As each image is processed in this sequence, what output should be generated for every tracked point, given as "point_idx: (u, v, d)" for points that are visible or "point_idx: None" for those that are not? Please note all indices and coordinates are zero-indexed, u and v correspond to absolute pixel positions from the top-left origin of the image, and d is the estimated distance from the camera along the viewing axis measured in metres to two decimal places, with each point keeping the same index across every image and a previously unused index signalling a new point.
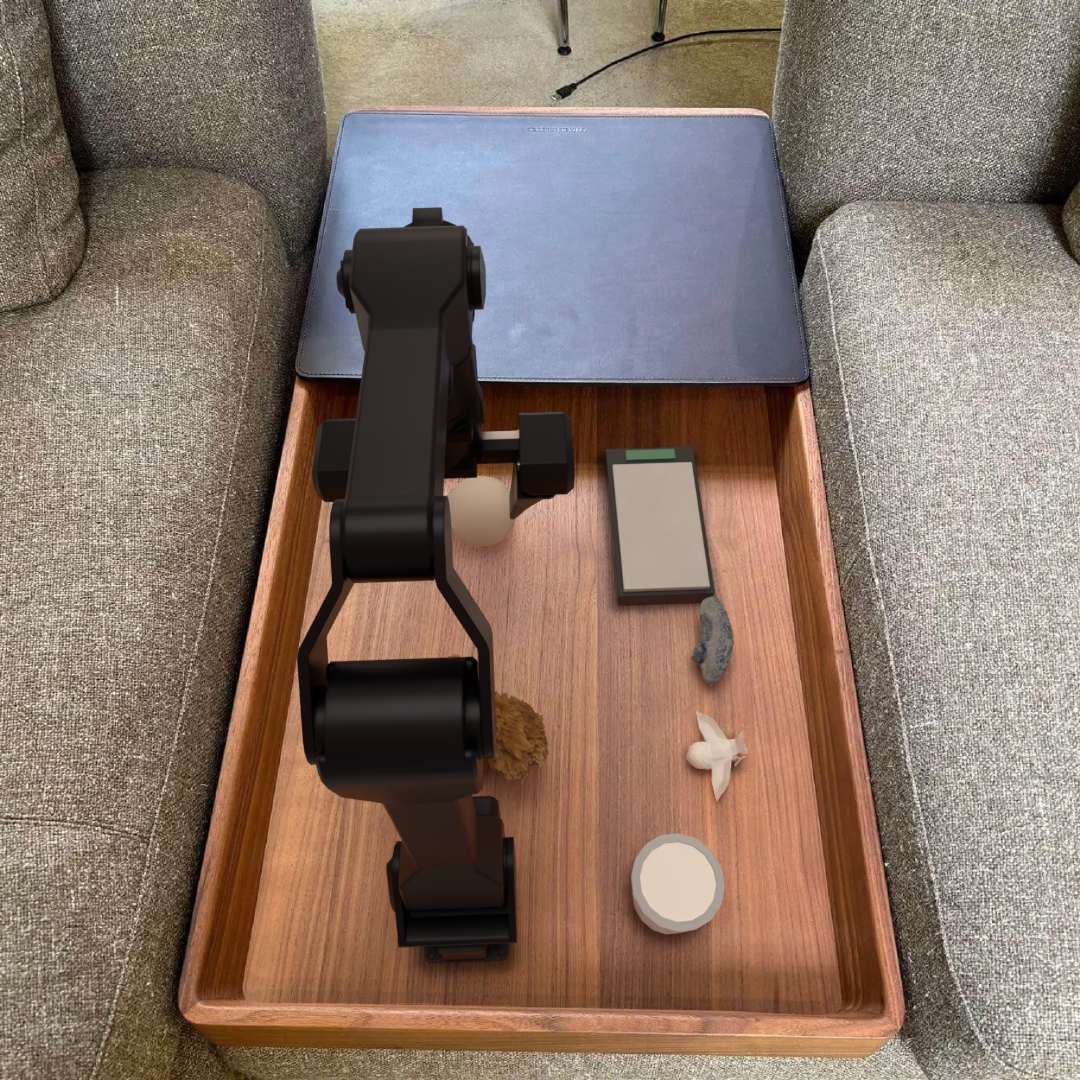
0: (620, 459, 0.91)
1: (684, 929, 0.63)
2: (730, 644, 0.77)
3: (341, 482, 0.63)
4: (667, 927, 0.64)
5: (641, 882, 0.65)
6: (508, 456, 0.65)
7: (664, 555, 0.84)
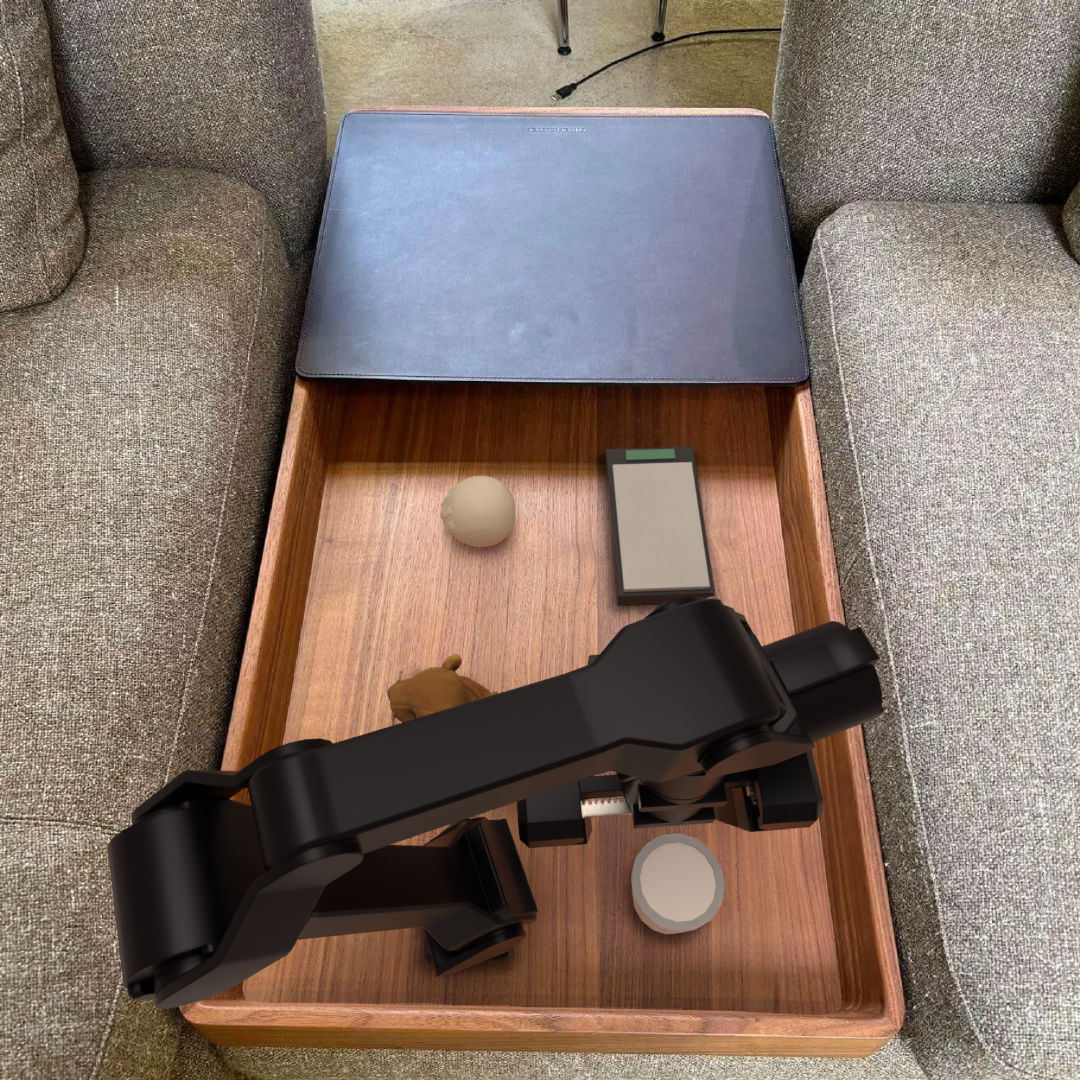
0: (620, 459, 0.91)
1: (684, 929, 0.63)
2: None
3: (554, 834, 0.53)
4: (667, 927, 0.64)
5: (641, 882, 0.65)
6: (740, 785, 0.55)
7: (664, 555, 0.84)
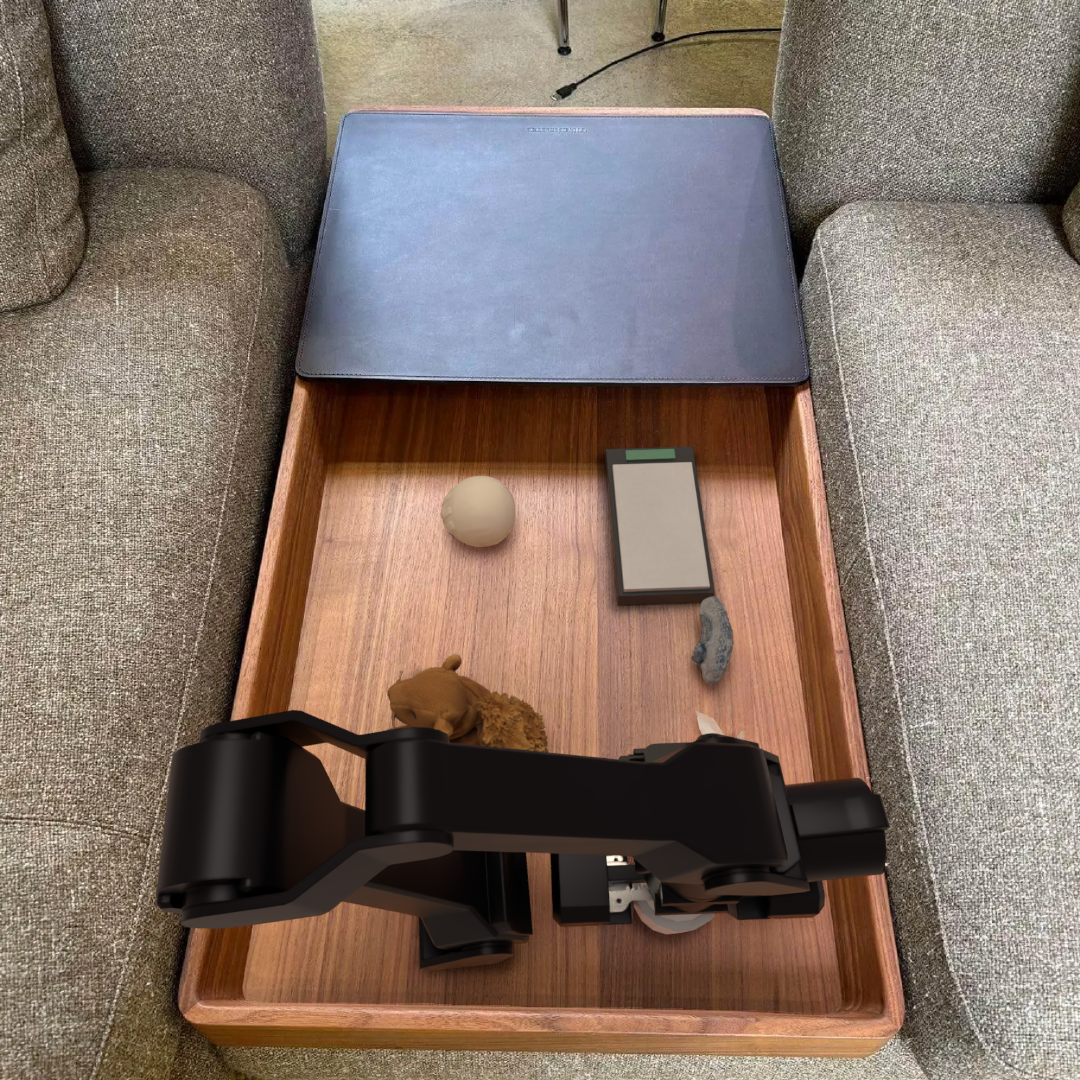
0: (620, 459, 0.91)
1: (684, 929, 0.63)
2: (730, 644, 0.77)
3: (584, 917, 0.60)
4: (667, 927, 0.64)
5: None
6: None
7: (664, 555, 0.84)
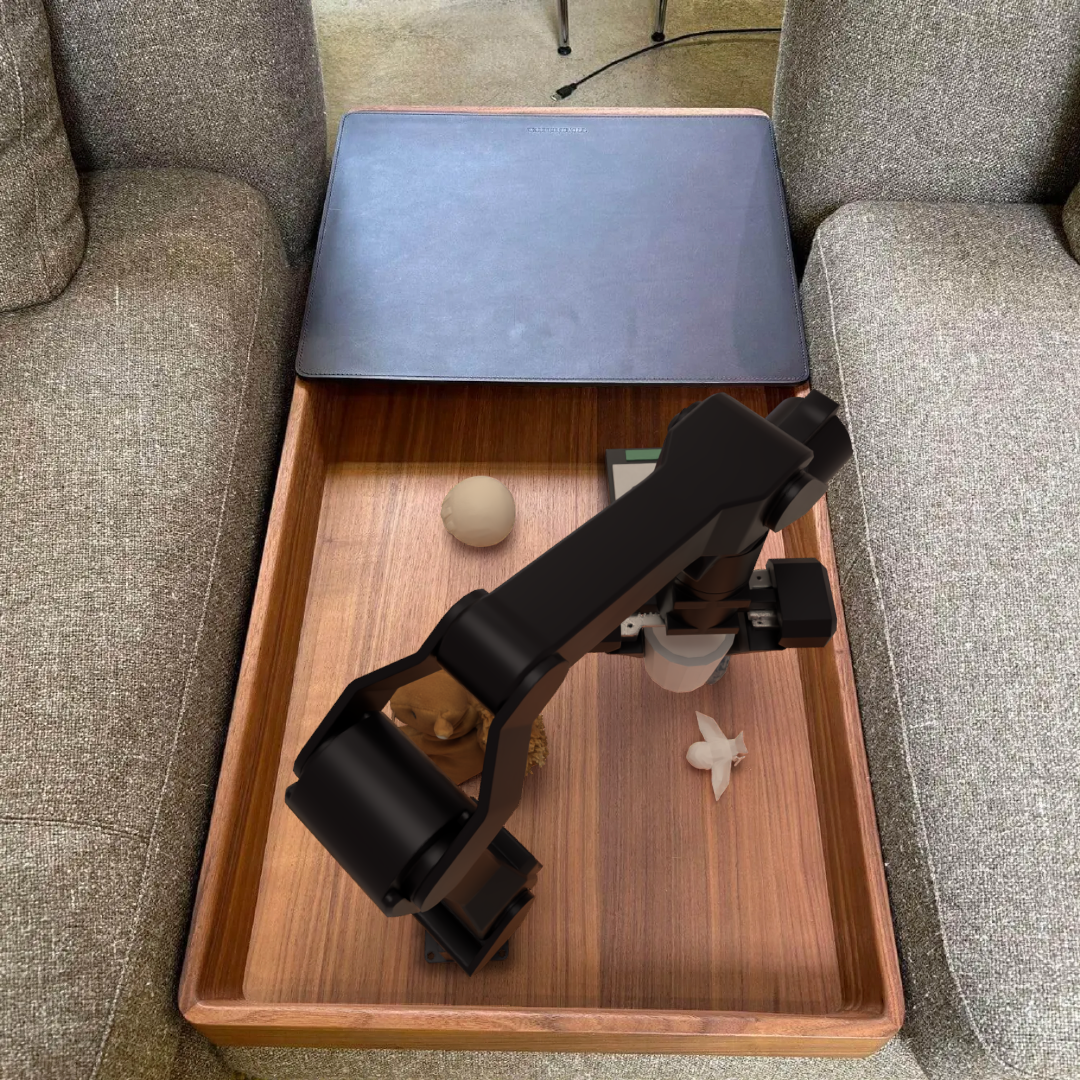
0: (620, 459, 0.91)
1: (695, 664, 0.63)
2: None
3: None
4: (678, 663, 0.63)
5: None
6: (762, 606, 0.62)
7: None
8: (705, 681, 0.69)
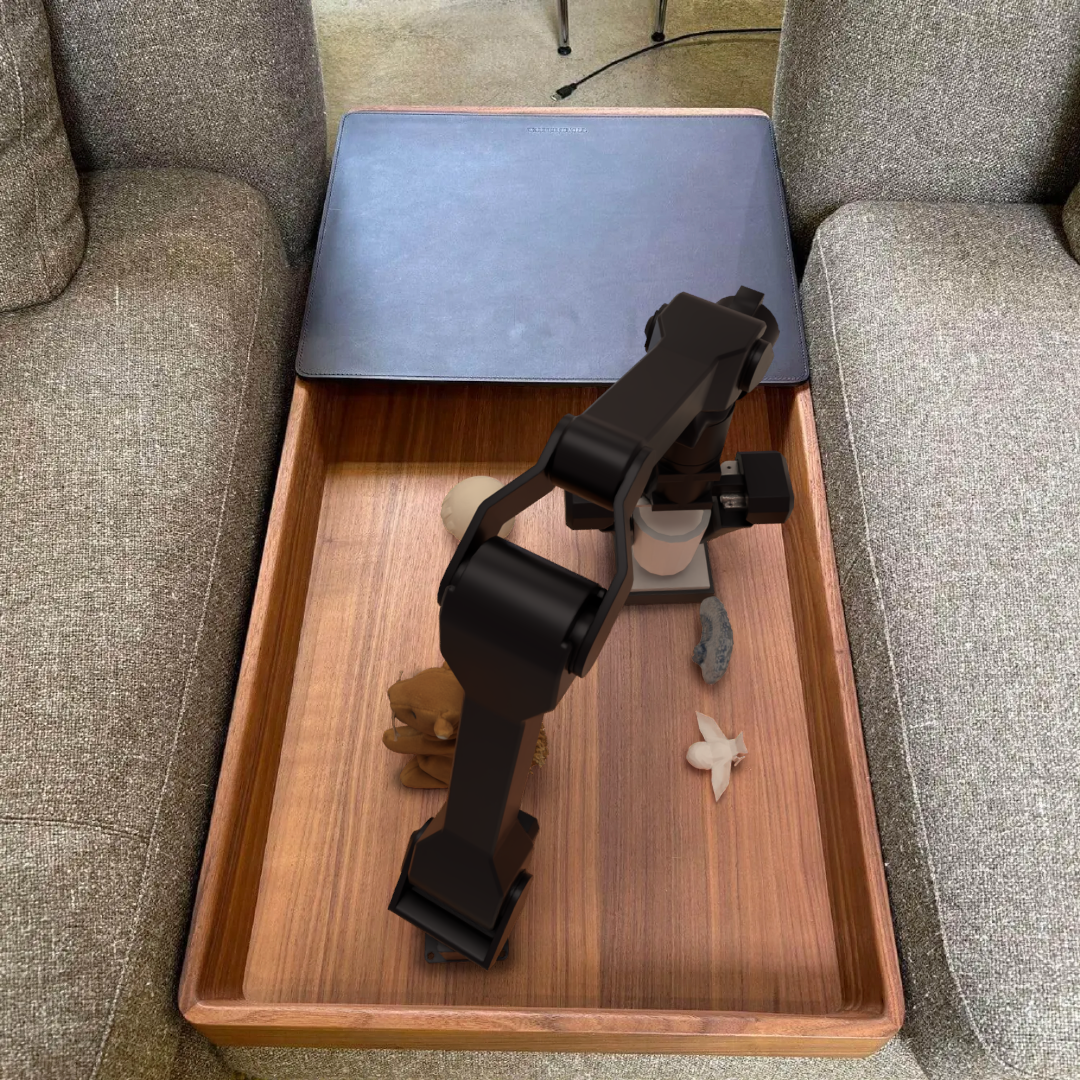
0: None
1: (676, 541, 0.75)
2: (730, 644, 0.77)
3: (592, 513, 0.72)
4: (662, 540, 0.75)
5: (640, 510, 0.77)
6: (732, 490, 0.74)
7: None
8: (685, 564, 0.81)
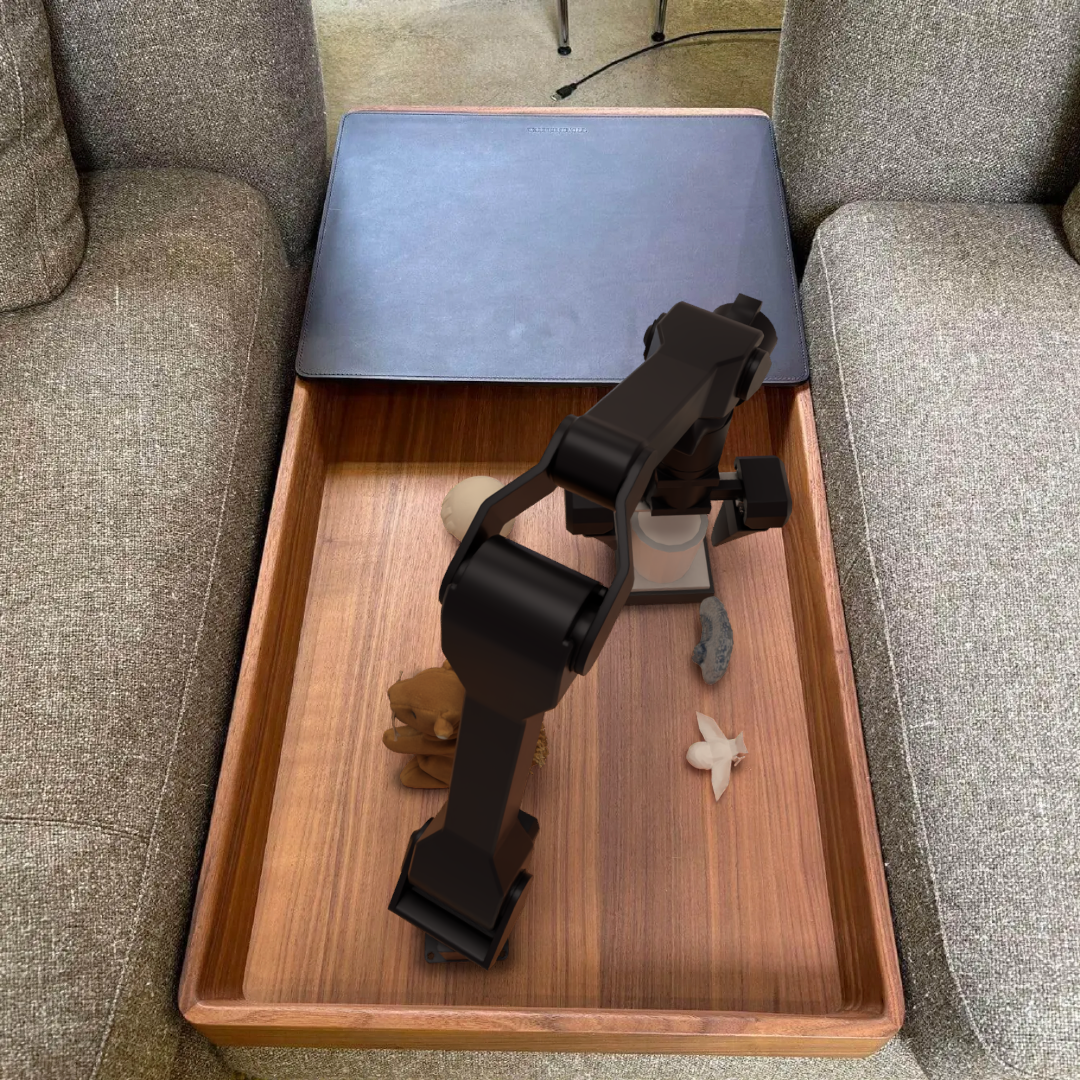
0: None
1: (674, 550, 0.76)
2: (730, 644, 0.77)
3: (592, 518, 0.73)
4: (660, 549, 0.76)
5: (638, 519, 0.78)
6: (731, 494, 0.74)
7: None
8: (683, 573, 0.82)
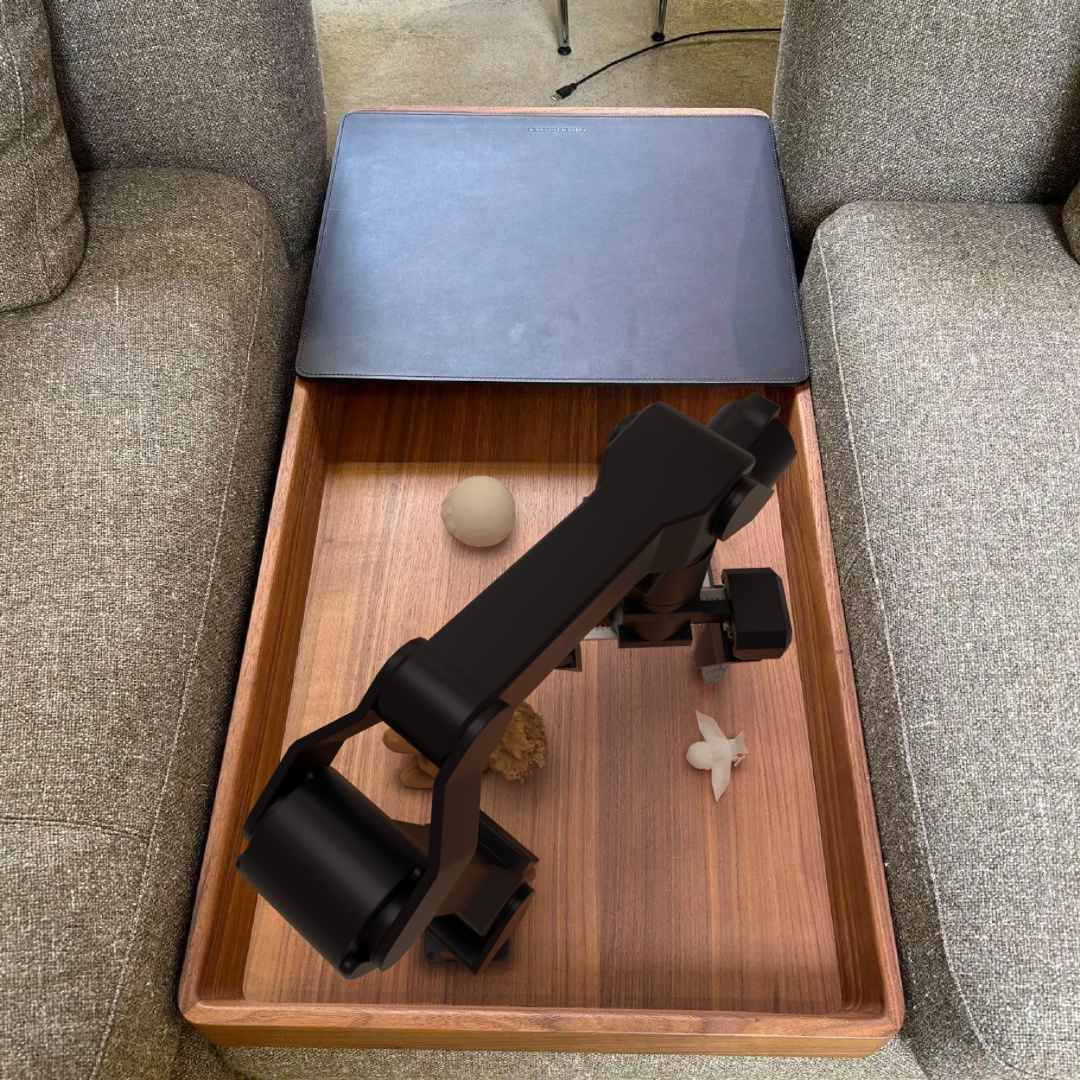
0: None
1: None
2: None
3: None
4: None
5: None
6: (717, 618, 0.61)
7: None
8: None
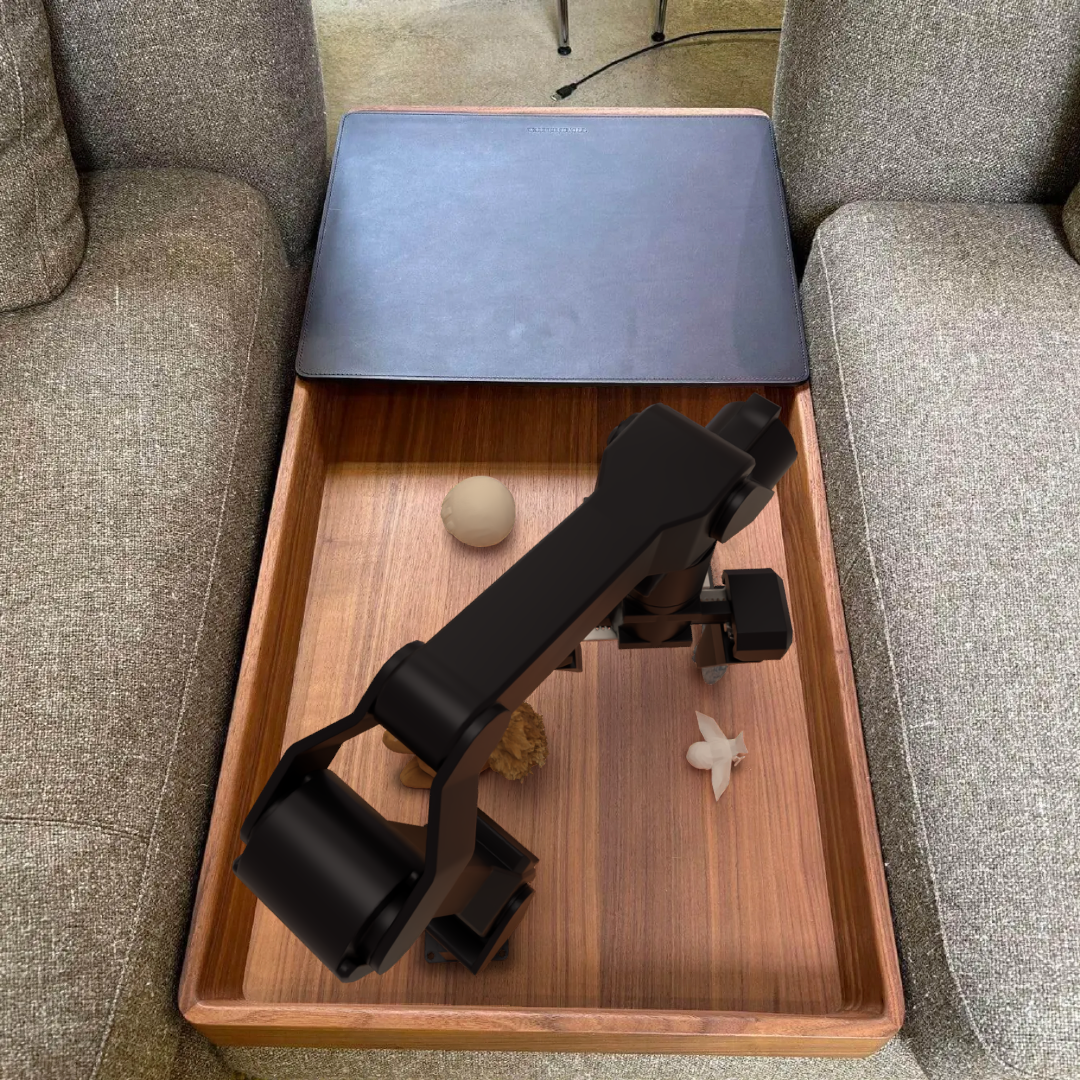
0: None
1: None
2: None
3: None
4: None
5: None
6: (717, 619, 0.61)
7: None
8: None
